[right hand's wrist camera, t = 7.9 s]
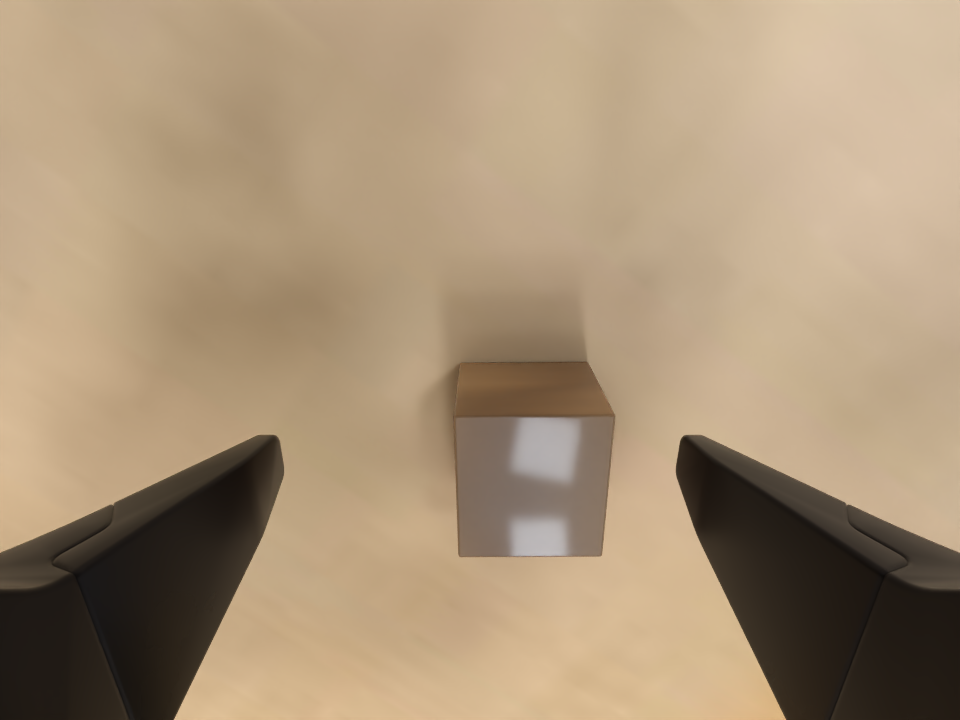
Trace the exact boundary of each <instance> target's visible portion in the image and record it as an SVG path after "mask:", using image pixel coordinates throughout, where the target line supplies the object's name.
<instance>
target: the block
mask: <svg viewBox="0 0 960 720" xmlns="http://www.w3.org/2000/svg"><path fill="white" fill-rule="evenodd" d="M614 423H615V414H614V412H613V410H612V408H611V406H610V404H609V403H608V401H607V399H606V397H605V395H604V393H603V391H602V389H601V387H600V385H599V383H598V381H597V379H596V377H595V375H594V373H593V371H592V369H591V367H590V365H589V364H588V362H535V363H461V364H460V367H459V376H458V384H457V393H456V401H455V410H454V442H455V471H456V500H457V528H458V555H459V557H571V556H601V555H602V549H603V538H604V528H605V517H606V507H607V496H608V486H609V475H610V465H611V454H612V444H613V433H614Z"/></svg>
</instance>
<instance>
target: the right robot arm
mask: <svg viewBox="0 0 960 720" xmlns="http://www.w3.org/2000/svg"><path fill="white" fill-rule="evenodd" d="M283 476H284V464H283V458H282V452H281V446H280V441H279V439H278V437H277V436H276V435H258V436H255V437H253V438H251V439H249V440H247V441H245V442H243V443H240V444H238V445H236V446H234V447H232V448H230V449H228V450H226V451H223V452H221V453H219V454H217V455H215V456H213V457H211V458H209V459H206V460H204V461H202V462H200V463H198V464H196V465H194V466H192V467H189V468H187V469H185V470H183V471H181V472H179V473H177V474H175V475H172V476H170V477H168V478H166V479H164V480H162V481H160V482H158V483H156V484H153V485H151V486H149V487H147V488H145V489H143V490H141V491H139V492H136V493H134V494H132V495H130V496H128V497H126V498H124V499H122V500H119V501H117V502H115V503H114V506H113V505H109V506H107V507H104V508H102V509H100V510H98V511H96V512H94V513H92V514H89V515H87V516H85V517H83V518H81V519H78V520H76V521H74V522H72V523H70V524H67V525H65V526H63V527H61V528H58V529H56V530H54V531H51V532H49V533H47V534H44V535H42V536H40V537H37V538H35V539H33V540H30V541H28V542H25V543H23V544H21V545H18V546H16V547H13V548H11V549H9V550H6V551H4V552H1V553H0V720H174V718H175V716H176V714H177V712H178V710H179V708H180V706H181V704H182V702H183V700H184V698H185V696H186V694H187V691H188V689H189V687H190V685H191V683H192V681H193V679H194V677H195V675H196V673H197V671H198V669H199V667H200V665H201V663H202V660H203V658H204V656H205V654H206V652H207V650H208V648H209V646H210V644H211V642H212V640H213V638H214V636H215V634H216V632H217V630H218V627H219V625H220V623H221V621H222V619H223V617H224V615H225V613H226V611H227V609H228V607H229V605H230V603H231V601H232V599H233V597H234V594H235V592H236V590H237V588H238V586H239V584H240V582H241V580H242V578H243V576H244V574H245V572H246V570H247V568H248V566H249V564H250V561H251V559H252V557H253V555H254V553H255V551H256V549H257V547H258V545H259V543H260V541H261V538H262V536H263V534H264V531H265V528H266V526H267V523H268V520H269V517H270V514H271V511H272V509H273V506H274V503H275V500H276V497H277V494H278V491H279V488H280V485H281V482H282V480H283ZM676 476H677V480H678V482H679V485H680V488H681V491H682V494H683V497H684V500H685V503H686V506H687V509H688V511H689V514H690V517H691V520H692V523H693V526H694V528H695V531H696V534H697V536H698V538H699V541H700V543H701V545H702V547H703V549H704V551H705V553H706V555H707V557H708V559H709V561H710V564H711V566H712V568H713V570H714V572H715V574H716V576H717V578H718V580H719V582H720V584H721V586H722V588H723V590H724V592H725V594H726V597H727V599H728V601H729V603H730V605H731V607H732V609H733V611H734V613H735V615H736V617H737V619H738V621H739V623H740V625H741V628H742V630H743V632H744V634H745V636H746V638H747V640H748V642H749V644H750V646H751V648H752V650H753V652H754V654H755V656H756V658H757V661H758V663H759V665H760V667H761V669H762V671H763V673H764V675H765V677H766V679H767V681H768V683H769V685H770V687H771V689H772V691H773V694H774V696H775V698H776V700H777V702H778V704H779V706H780V708H781V710H782V712H783V714H784V716H785V718H786V720H960V553H959V552H956V551H954V550H951V549H949V548H947V547H944V546H942V545H939V544H937V543H935V542H932V541H930V540H927V539H925V538H923V537H920V536H918V535H916V534H913V533H911V532H909V531H906V530H904V529H902V528H899V527H897V526H895V525H893V524H890V523H888V522H886V521H884V520H882V519H879V518H877V517H875V516H873V515H871V514H868V513H866V512H864V511H862V510H860V509H858V508H856V507H853V506H851V505H847V506H846V503H845V502H843V501H841V500H838V499H836V498H834V497H832V496H830V495H828V494H826V493H824V492H821V491H819V490H817V489H815V488H813V487H811V486H809V485H807V484H804V483H802V482H800V481H798V480H796V479H794V478H792V477H790V476H788V475H785V474H783V473H781V472H779V471H777V470H775V469H773V468H771V467H768V466H766V465H764V464H762V463H760V462H758V461H756V460H754V459H751V458H749V457H747V456H745V455H743V454H741V453H739V452H737V451H734V450H732V449H730V448H728V447H726V446H724V445H722V444H720V443H717V442H715V441H713V440H711V439H709V438H707V437H705V436H702V435H684V436H683V437H682V439H681V441H680V446H679V452H678V458H677V464H676Z"/></svg>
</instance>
